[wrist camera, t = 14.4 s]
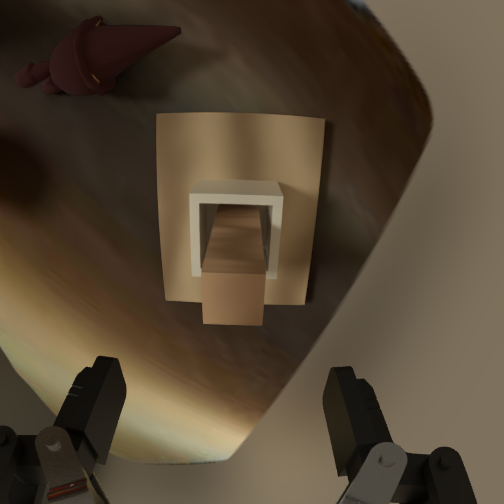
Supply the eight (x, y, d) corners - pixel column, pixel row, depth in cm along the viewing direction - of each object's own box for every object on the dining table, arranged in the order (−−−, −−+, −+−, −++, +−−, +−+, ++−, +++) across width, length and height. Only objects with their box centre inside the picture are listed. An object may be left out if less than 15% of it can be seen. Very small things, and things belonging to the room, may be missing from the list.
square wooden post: (219, 237, 28) (203, 323, 17) (219, 201, 27) (200, 272, 16) (256, 238, 28) (262, 325, 17) (258, 203, 27) (266, 274, 16)
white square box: (199, 250, 30) (191, 276, 25) (199, 178, 27) (189, 193, 22) (272, 252, 30) (276, 279, 25) (276, 181, 27) (283, 196, 22)
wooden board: (167, 295, 33) (165, 300, 32) (159, 113, 25) (156, 113, 24) (302, 299, 33) (304, 304, 32) (322, 118, 26) (325, 118, 25)
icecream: (166, -29, 15) (10, 42, 17) (166, 53, 16) (1, 117, 18) (191, 14, 22) (54, 61, 23) (195, 85, 23) (51, 126, 25)
